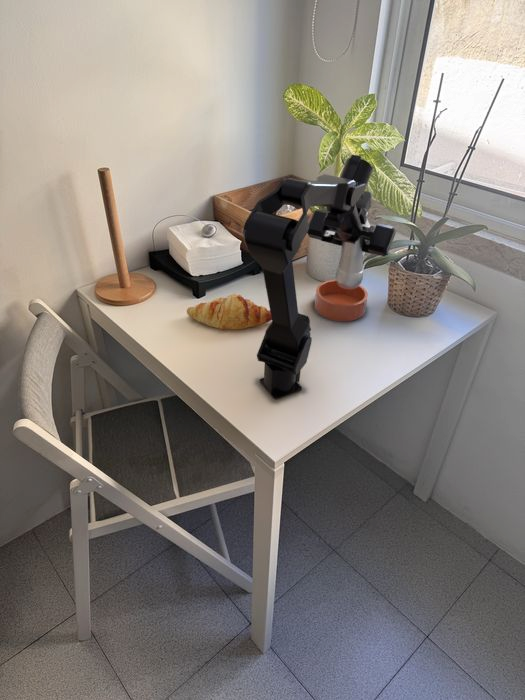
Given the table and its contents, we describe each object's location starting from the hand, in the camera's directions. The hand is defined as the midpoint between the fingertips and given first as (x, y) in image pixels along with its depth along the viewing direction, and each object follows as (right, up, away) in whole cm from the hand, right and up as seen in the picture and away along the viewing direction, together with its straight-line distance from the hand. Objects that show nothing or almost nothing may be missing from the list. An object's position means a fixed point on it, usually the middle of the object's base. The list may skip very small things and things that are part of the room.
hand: (355, 247), depth 119 cm
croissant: (-29, -17, +3) cm, 34 cm away
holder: (-2, -13, +9) cm, 16 cm away
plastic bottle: (-1, -9, +5) cm, 10 cm away
